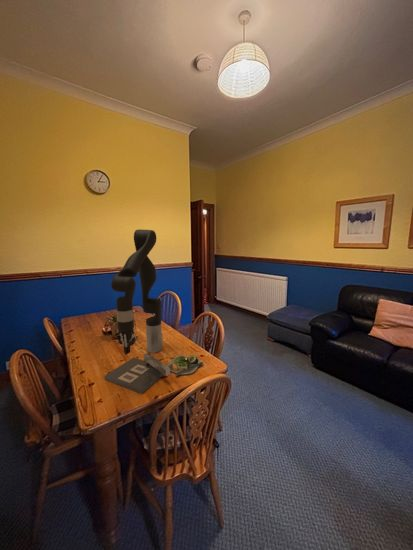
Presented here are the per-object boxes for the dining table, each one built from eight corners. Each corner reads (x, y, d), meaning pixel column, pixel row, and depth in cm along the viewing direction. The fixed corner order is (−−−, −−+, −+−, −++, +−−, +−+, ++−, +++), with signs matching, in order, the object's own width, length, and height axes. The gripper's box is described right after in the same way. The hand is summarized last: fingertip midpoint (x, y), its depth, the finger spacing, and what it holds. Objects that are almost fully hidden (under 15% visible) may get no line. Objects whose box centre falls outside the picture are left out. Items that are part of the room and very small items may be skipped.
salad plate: (190, 382, 113) (190, 373, 113) (159, 373, 120) (159, 365, 120) (205, 363, 131) (205, 355, 130) (178, 356, 138) (178, 349, 137)
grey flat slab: (133, 360, 132) (133, 353, 132) (168, 371, 122) (167, 364, 121) (104, 379, 115) (104, 371, 114) (141, 394, 104) (141, 385, 103)
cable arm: (142, 359, 125) (142, 354, 124) (148, 357, 127) (148, 352, 127) (164, 376, 110) (164, 370, 109) (171, 373, 112) (170, 367, 112)
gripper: (141, 318, 108) (143, 352, 111) (121, 314, 114) (123, 346, 117) (130, 323, 102) (131, 360, 104) (108, 318, 107) (111, 353, 110)
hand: (127, 353), depth 111 cm, fingers closed
